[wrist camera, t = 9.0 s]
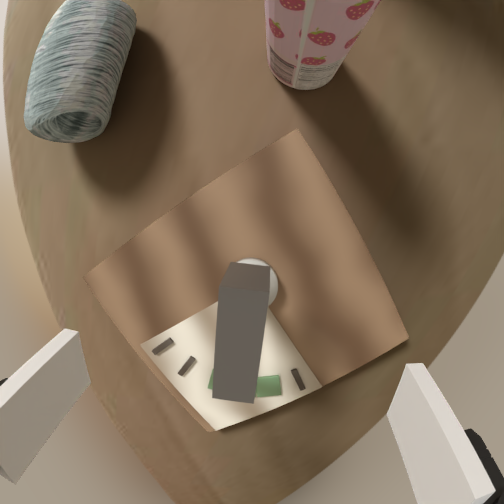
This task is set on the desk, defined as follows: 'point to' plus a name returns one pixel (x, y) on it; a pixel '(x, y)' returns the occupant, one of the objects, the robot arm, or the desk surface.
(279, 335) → the dial board
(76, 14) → the pale teal yarn skein
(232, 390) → the grey piece
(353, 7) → the beverage can
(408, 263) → the desk surface
